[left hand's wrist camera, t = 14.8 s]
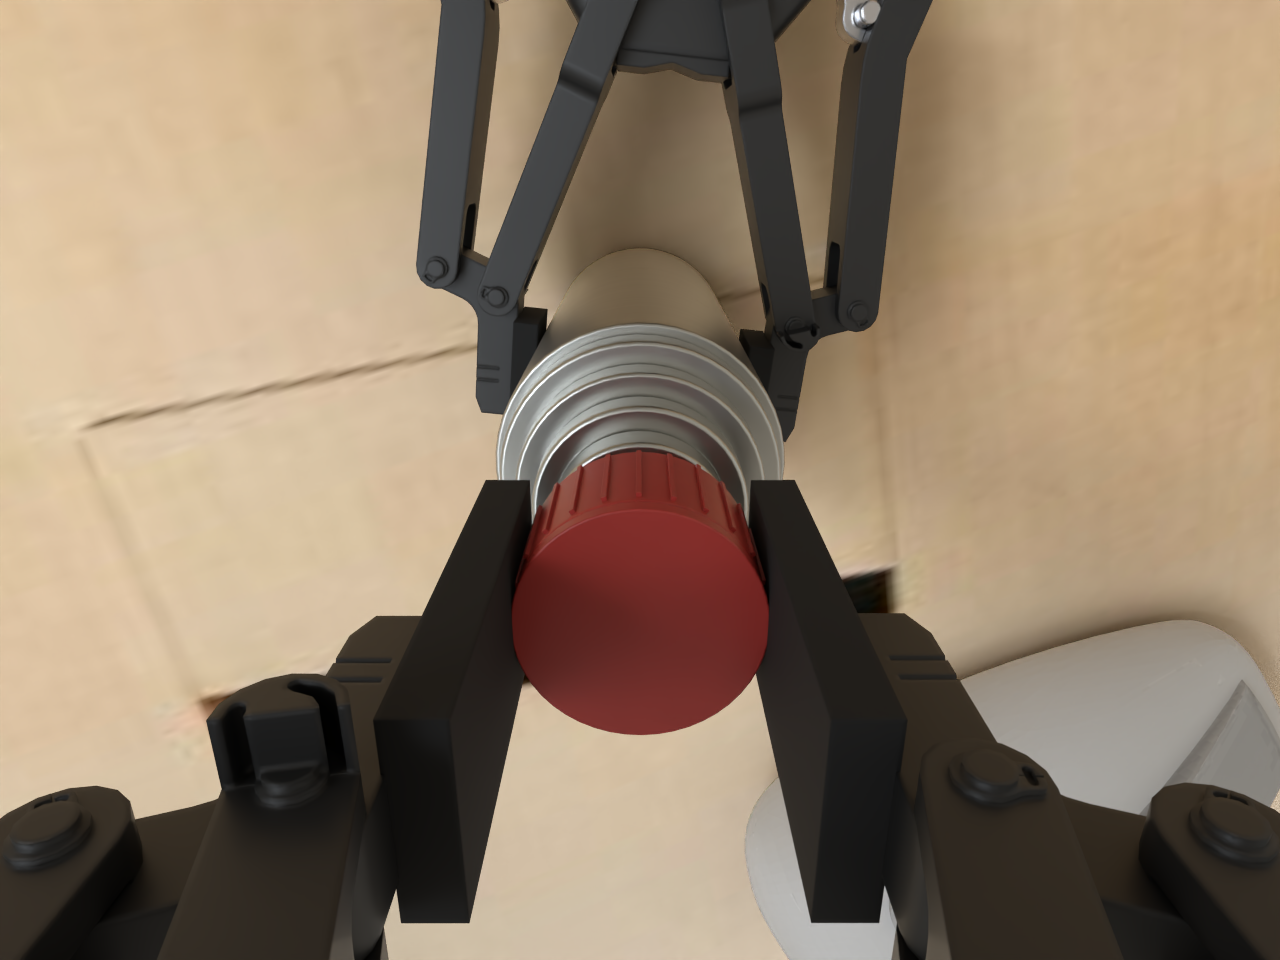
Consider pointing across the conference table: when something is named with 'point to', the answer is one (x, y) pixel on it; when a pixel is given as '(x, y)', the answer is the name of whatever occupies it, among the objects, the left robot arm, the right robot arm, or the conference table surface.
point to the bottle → (640, 382)
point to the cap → (640, 596)
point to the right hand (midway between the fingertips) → (625, 512)
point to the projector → (1072, 750)
